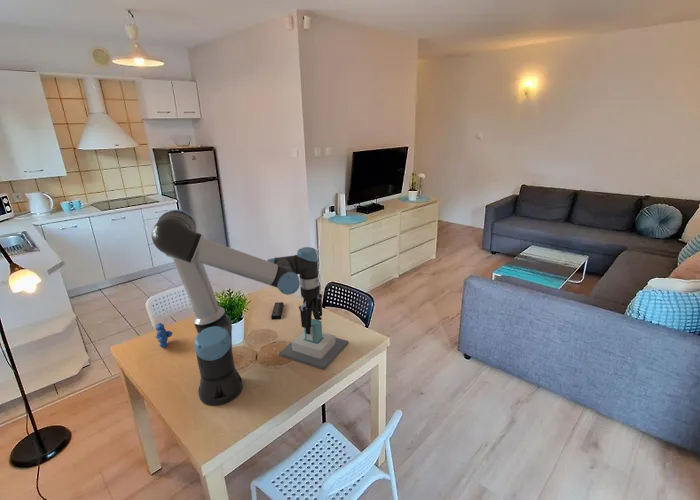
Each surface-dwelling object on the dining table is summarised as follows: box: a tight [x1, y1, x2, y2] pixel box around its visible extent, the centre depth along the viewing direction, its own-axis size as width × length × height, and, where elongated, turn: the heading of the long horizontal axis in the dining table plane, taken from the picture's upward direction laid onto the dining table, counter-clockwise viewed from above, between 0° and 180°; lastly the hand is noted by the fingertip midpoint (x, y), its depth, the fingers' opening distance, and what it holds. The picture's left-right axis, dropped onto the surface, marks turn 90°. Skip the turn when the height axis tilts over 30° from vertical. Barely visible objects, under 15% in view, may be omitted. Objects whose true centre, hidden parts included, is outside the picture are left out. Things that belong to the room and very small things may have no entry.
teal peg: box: [303, 318, 323, 344], centre depth 154 cm, size 4×6×12 cm, turn 62°
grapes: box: [155, 322, 173, 349], centre depth 160 cm, size 12×7×12 cm, turn 28°
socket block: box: [278, 330, 349, 371], centre depth 156 cm, size 20×22×5 cm
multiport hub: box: [271, 301, 285, 321], centre depth 188 cm, size 4×14×2 cm, turn 3°
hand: (313, 336), depth 154 cm, fingers open, 4 cm apart
